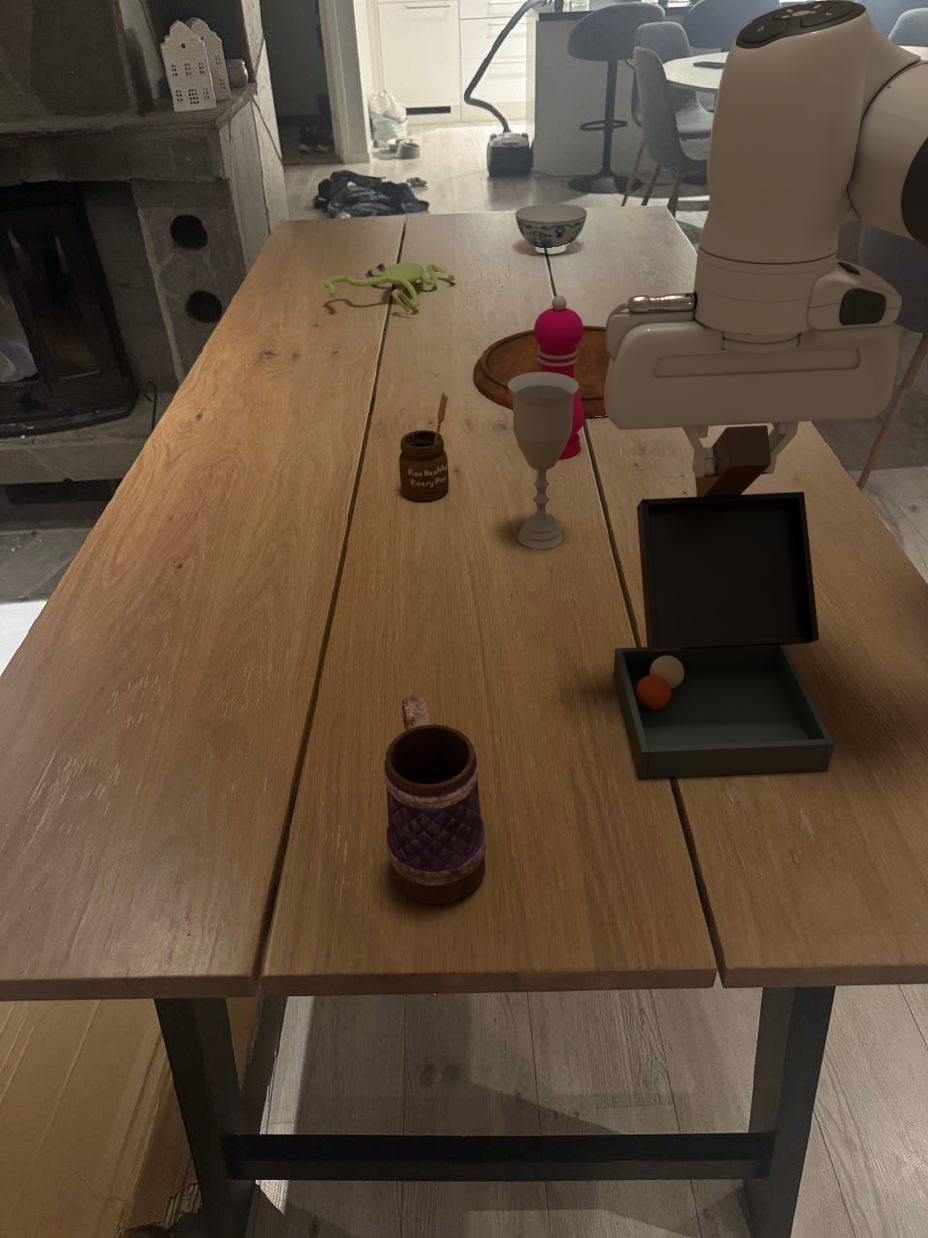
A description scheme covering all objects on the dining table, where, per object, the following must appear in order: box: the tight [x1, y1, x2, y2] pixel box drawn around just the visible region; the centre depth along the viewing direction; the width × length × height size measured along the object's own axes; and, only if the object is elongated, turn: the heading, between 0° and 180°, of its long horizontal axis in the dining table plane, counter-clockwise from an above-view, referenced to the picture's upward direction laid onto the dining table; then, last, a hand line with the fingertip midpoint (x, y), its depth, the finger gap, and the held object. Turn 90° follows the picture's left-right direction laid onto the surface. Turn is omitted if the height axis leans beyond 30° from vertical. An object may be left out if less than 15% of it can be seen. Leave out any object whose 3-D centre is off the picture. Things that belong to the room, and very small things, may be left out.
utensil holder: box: [394, 391, 450, 502], centre depth 111 cm, size 6×6×12 cm
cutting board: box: [472, 325, 610, 419], centre depth 142 cm, size 32×32×3 cm
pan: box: [636, 424, 820, 651], centre depth 71 cm, size 13×15×10 cm
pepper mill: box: [533, 294, 585, 460], centre depth 116 cm, size 7×7×20 cm
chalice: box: [508, 372, 579, 550], centre depth 99 cm, size 7×7×18 cm
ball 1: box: [650, 656, 684, 689], centre depth 82 cm, size 3×3×3 cm
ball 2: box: [636, 675, 671, 710], centre depth 80 cm, size 3×3×3 cm
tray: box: [612, 645, 836, 780], centre depth 79 cm, size 15×13×3 cm
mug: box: [383, 694, 487, 905], centre depth 66 cm, size 10×7×12 cm
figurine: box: [323, 262, 456, 313], centre depth 175 cm, size 18×27×6 cm
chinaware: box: [514, 203, 588, 248], centre depth 196 cm, size 15×15×8 cm
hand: (732, 472), depth 71 cm, fingers closed on pan, 3 cm apart
